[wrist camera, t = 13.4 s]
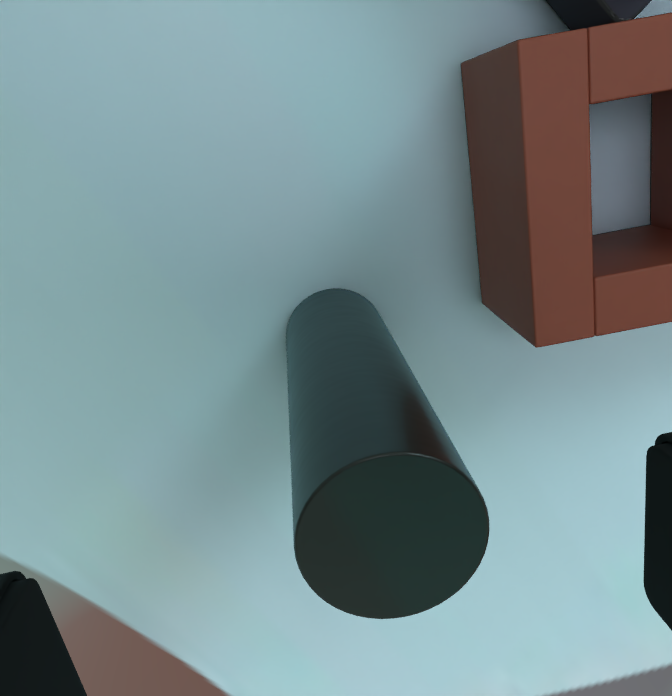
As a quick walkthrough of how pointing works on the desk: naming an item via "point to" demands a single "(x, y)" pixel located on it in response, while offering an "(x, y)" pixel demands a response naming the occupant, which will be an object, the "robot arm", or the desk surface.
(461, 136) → the desk surface
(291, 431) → the peg
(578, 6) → the calculator
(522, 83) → the hollow brick
